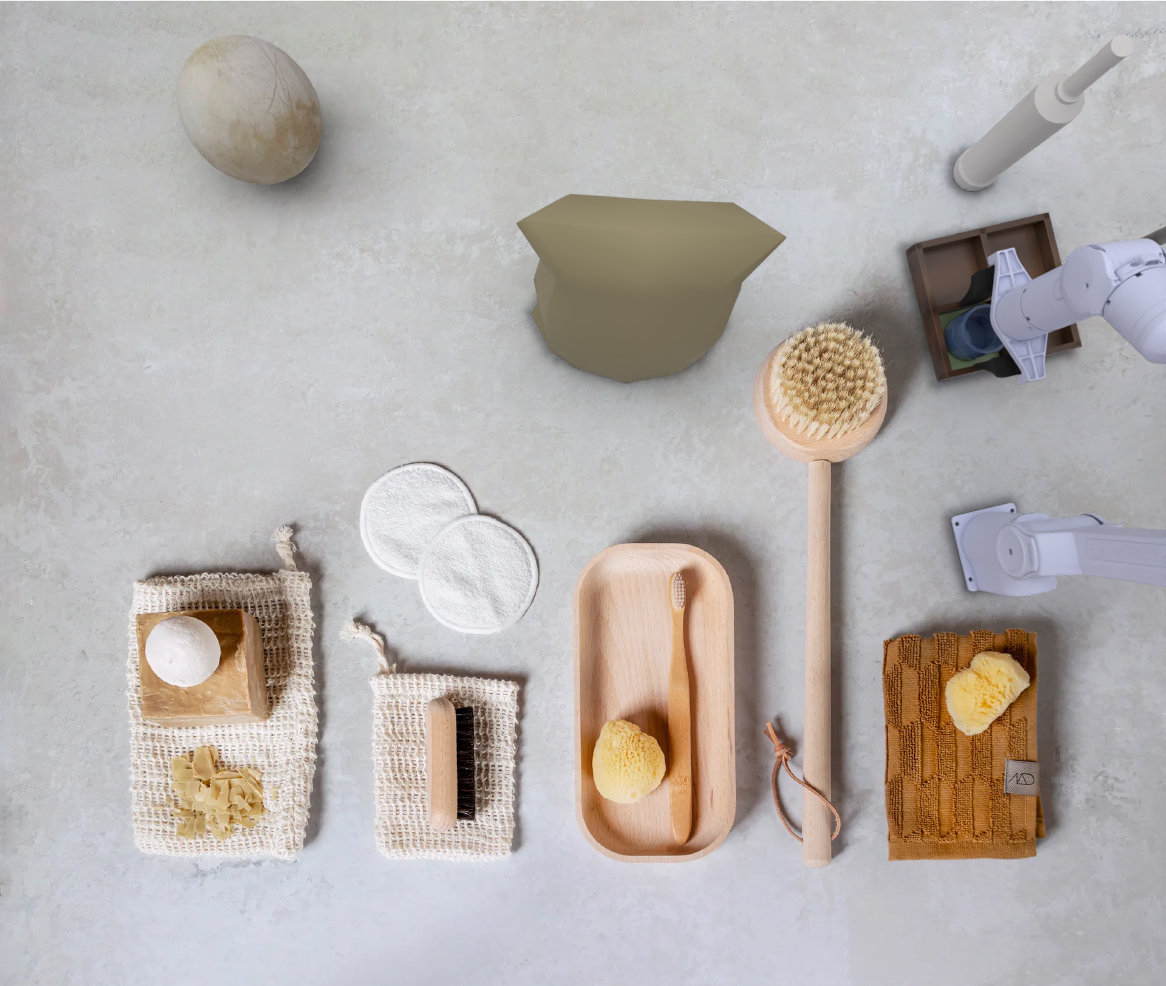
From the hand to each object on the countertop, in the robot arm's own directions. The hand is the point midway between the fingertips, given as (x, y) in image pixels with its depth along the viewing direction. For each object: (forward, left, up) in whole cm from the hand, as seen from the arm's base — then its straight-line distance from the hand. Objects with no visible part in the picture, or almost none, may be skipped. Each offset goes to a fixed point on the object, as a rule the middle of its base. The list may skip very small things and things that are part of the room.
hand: (975, 334), depth 87 cm
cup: (0, 0, -2) cm, 2 cm away
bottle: (+20, -6, -3) cm, 21 cm away
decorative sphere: (+43, +77, -3) cm, 88 cm away
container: (+12, +40, -3) cm, 42 cm away
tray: (+4, -5, -3) cm, 7 cm away
